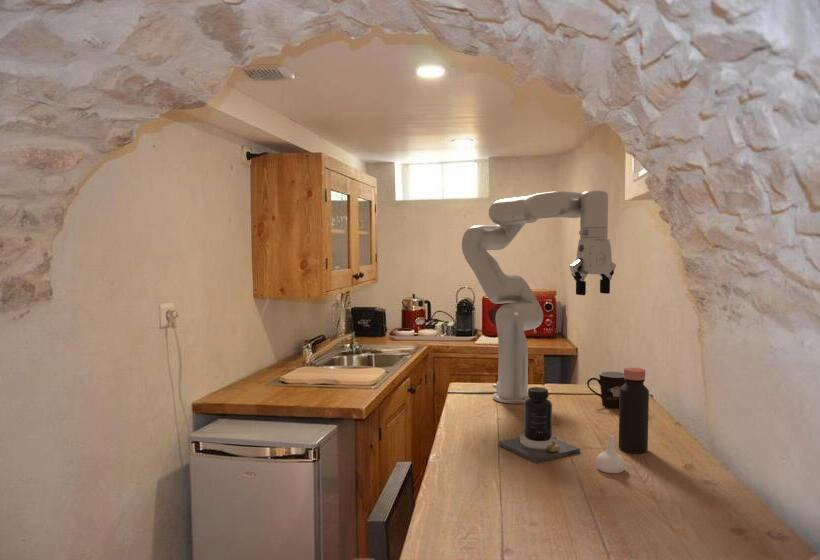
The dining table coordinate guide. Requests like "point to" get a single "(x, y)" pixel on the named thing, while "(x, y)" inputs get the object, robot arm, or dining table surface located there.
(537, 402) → the supplement bottle
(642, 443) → the vinegar
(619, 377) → the coffee mug
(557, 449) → the dish on grey tray
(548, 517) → the dining table surface
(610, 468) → the garlic bulb
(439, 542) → the dining table surface
